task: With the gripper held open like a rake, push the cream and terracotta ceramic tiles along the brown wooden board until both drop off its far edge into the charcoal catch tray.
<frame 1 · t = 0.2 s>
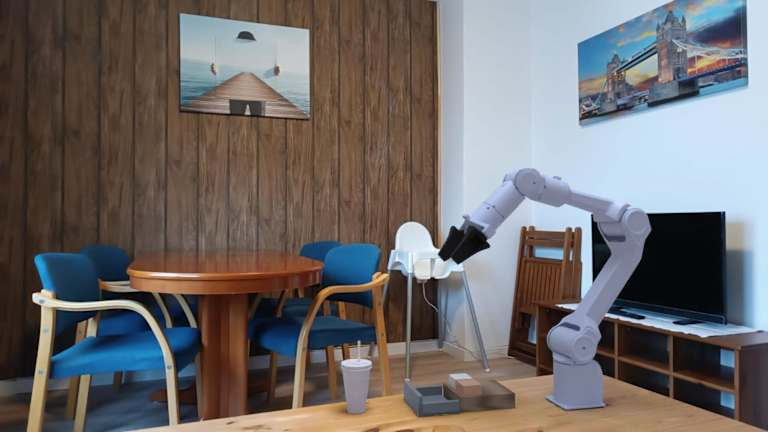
hand: (447, 259, 106), 31 cm above the table, tool tilted 45°, fingers open, 7 cm apart
smoothie: (356, 411, 106), on the table
tile cream: (460, 385, 113), point 3 cm above the table, touching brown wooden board
tile terracotta: (468, 392, 108), point 3 cm above the table, touching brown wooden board
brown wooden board: (478, 402, 111), on the table
catch tray: (430, 406, 109), on the table
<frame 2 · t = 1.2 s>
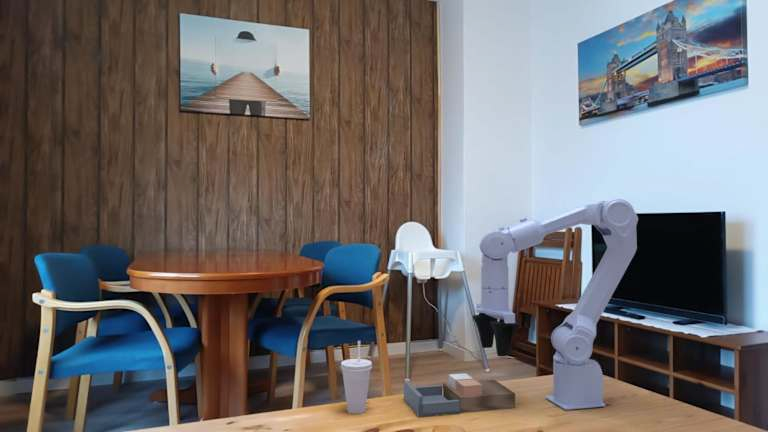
hand: (494, 351, 112), 10 cm above the table, tool pointing down, fingers open, 7 cm apart
nothing on the table moved.
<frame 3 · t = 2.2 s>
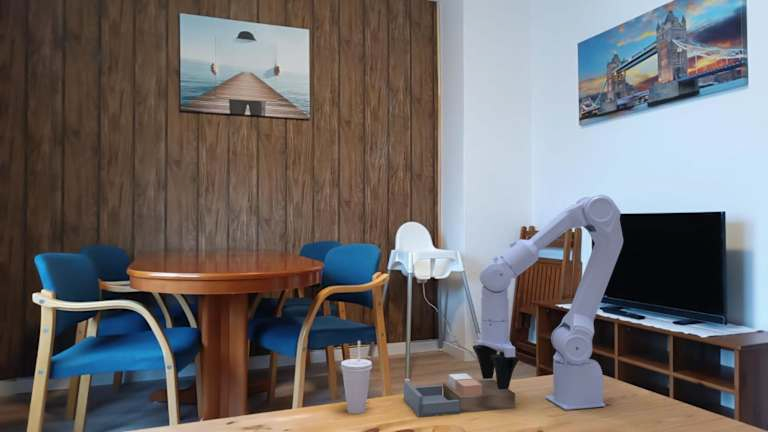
hand: (495, 383, 112), 4 cm above the table, tool pointing down, fingers open, 7 cm apart
nothing on the table moved.
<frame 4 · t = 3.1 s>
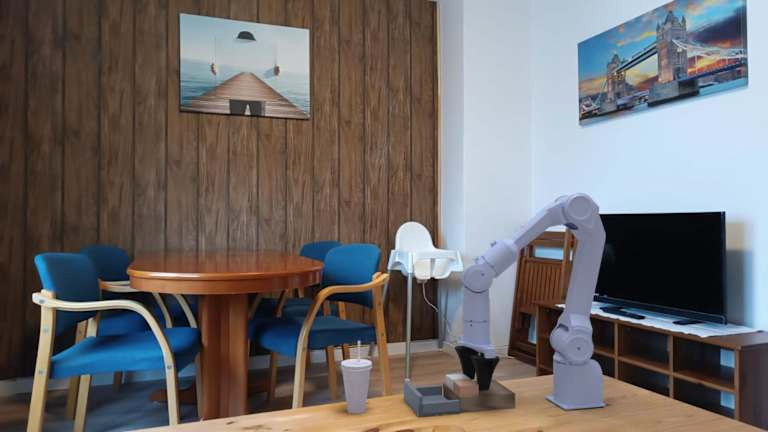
hand: (476, 384, 111), 4 cm above the table, tool pointing down, fingers open, 7 cm apart
tile cream: (457, 386, 113), point 3 cm above the table, touching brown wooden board, gripper
tile terracotta: (465, 392, 108), point 3 cm above the table, touching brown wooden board, gripper
everything else where it was.
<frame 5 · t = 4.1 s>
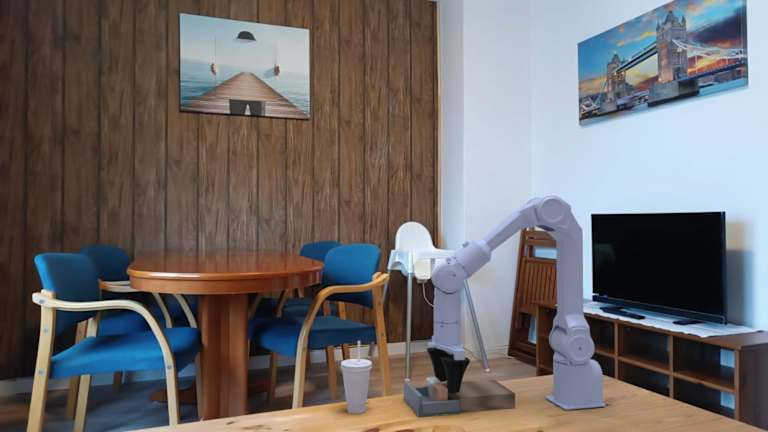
hand: (447, 386, 110), 4 cm above the table, tool pointing down, fingers open, 7 cm apart
tile cream: (439, 388, 112), point 3 cm above the table, tilted 99°, touching catch tray, gripper
tile terracotta: (444, 395, 107), point 3 cm above the table, tilted 90°, touching catch tray
everything else where it was.
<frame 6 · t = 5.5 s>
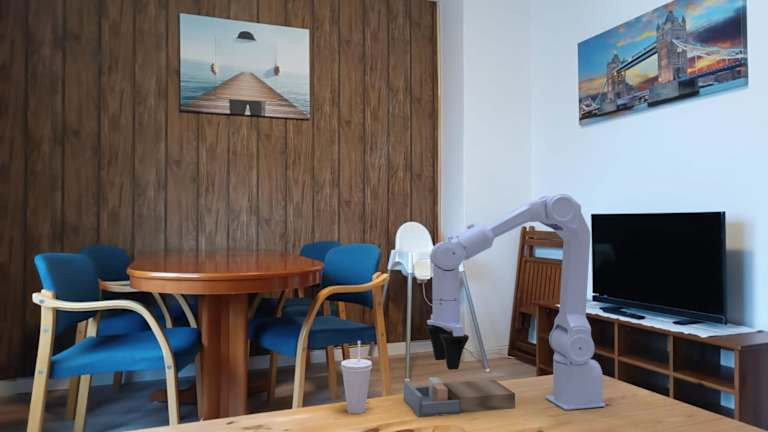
hand: (446, 364, 110), 8 cm above the table, tool pointing down, fingers open, 7 cm apart
tile cream: (440, 389, 112), point 3 cm above the table, tilted 90°, touching catch tray
everything else where it was.
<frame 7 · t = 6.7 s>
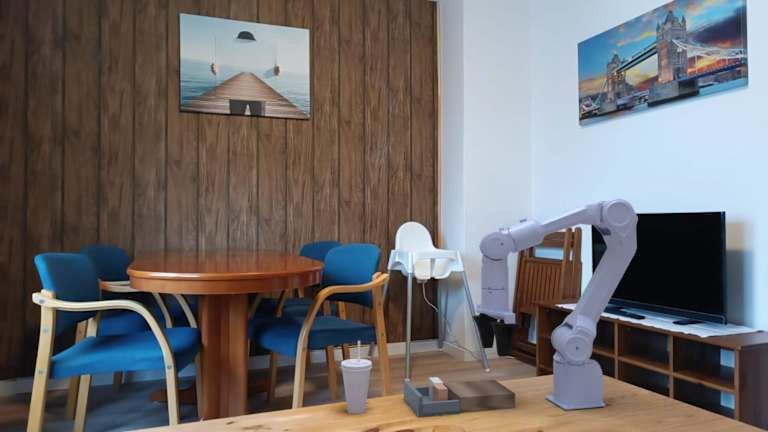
hand: (495, 351, 112), 10 cm above the table, tool pointing down, fingers open, 7 cm apart
nothing on the table moved.
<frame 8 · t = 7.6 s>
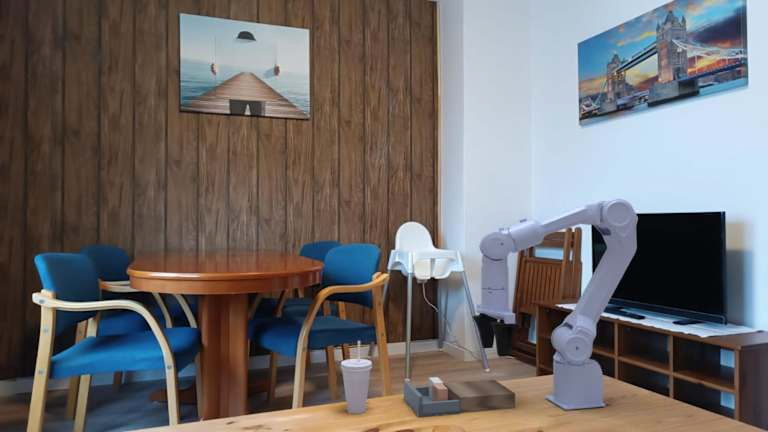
hand: (495, 351, 112), 10 cm above the table, tool pointing down, fingers open, 7 cm apart
nothing on the table moved.
at the end: tile terracotta inside the target area (3.6 cm from its centre), point 2.6 cm above the table; tile cream inside the target area (4.2 cm from its centre), point 2.6 cm above the table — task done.
